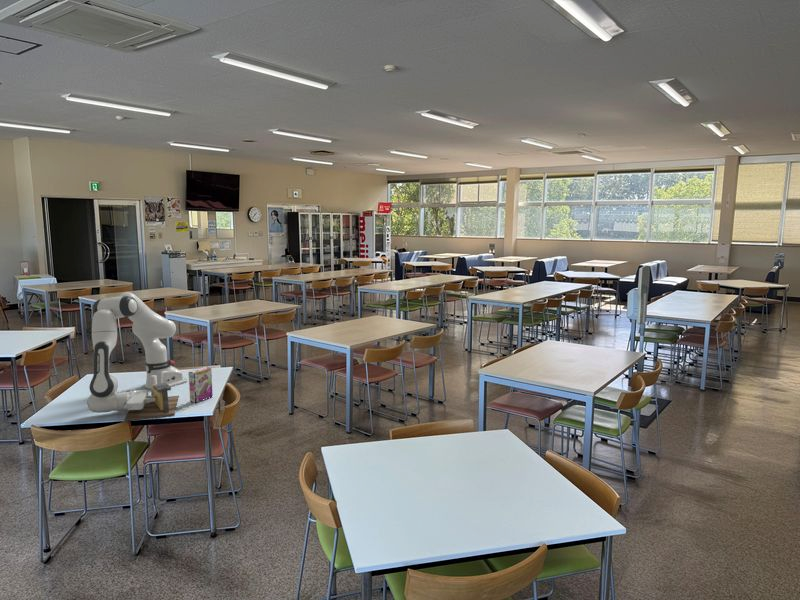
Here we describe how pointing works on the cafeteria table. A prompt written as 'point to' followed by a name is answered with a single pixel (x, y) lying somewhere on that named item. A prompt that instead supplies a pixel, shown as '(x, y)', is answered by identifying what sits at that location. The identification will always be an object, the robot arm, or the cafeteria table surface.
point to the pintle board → (152, 409)
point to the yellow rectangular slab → (154, 393)
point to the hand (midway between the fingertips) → (155, 398)
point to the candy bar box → (200, 384)
